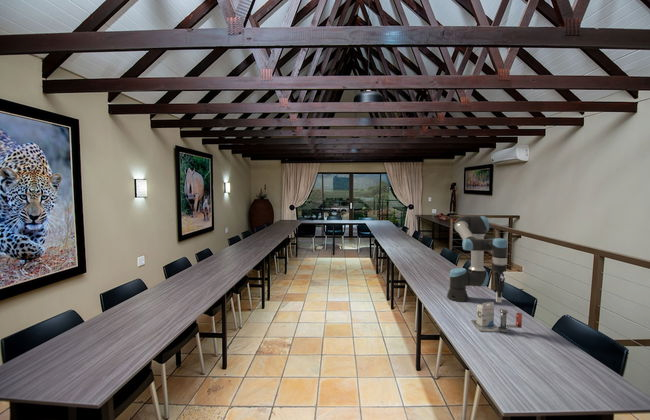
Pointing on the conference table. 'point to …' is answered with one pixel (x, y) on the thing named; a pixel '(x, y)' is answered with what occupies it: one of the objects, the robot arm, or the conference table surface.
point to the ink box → (485, 314)
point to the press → (494, 328)
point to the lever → (517, 321)
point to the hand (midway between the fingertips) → (498, 301)
